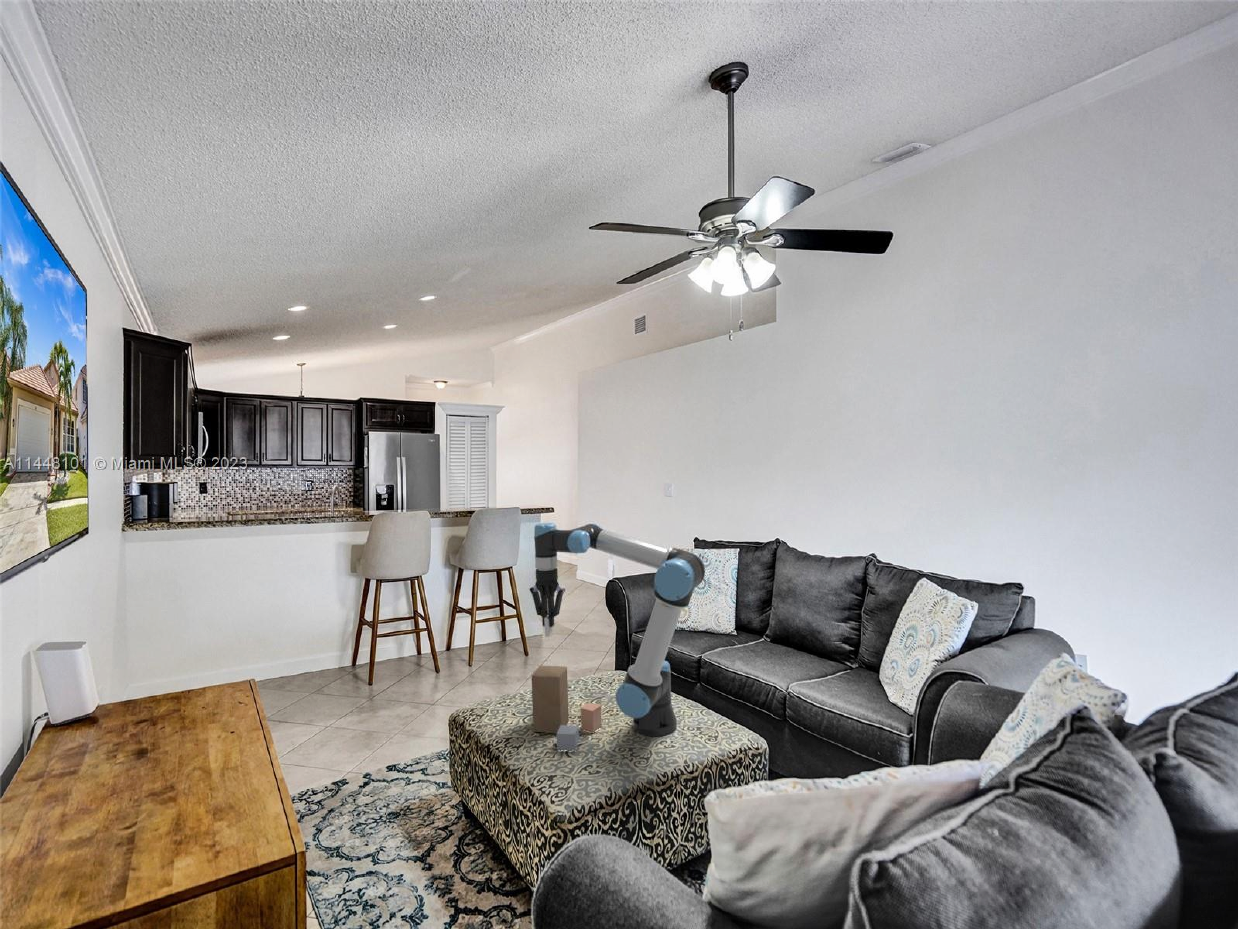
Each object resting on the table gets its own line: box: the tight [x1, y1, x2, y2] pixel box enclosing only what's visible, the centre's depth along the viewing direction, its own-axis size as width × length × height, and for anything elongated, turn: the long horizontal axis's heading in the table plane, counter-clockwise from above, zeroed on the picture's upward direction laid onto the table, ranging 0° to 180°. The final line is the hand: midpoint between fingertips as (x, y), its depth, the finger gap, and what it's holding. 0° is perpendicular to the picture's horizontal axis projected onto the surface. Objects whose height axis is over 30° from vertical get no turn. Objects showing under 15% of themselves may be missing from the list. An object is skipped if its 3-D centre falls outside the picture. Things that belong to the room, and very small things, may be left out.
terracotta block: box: [580, 702, 603, 732], centre depth 218 cm, size 5×5×8 cm
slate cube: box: [556, 724, 580, 751], centre depth 206 cm, size 6×6×6 cm
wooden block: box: [531, 665, 570, 734], centre depth 220 cm, size 10×10×20 cm
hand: (548, 635), depth 219 cm, fingers closed
